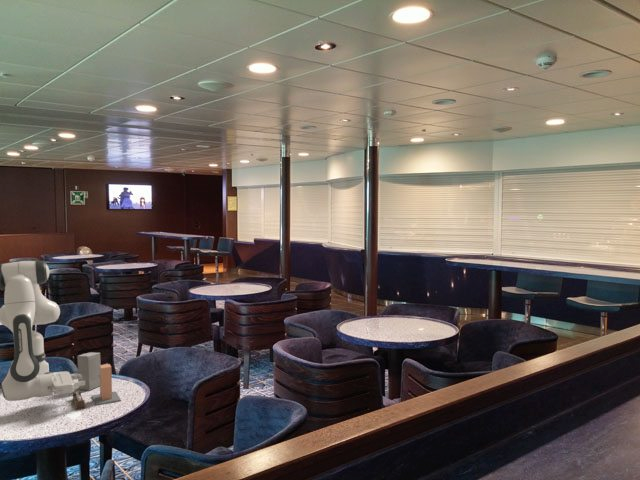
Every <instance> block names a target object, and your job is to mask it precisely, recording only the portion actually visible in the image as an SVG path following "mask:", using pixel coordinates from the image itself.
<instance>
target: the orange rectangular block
mask: <svg viewBox="0 0 640 480" xmlns="http://www.w3.org/2000/svg"><path fill="white" fill-rule="evenodd" d="M112 373H113V372H112V366H111V364H110V363H107V364H101V365H100V386H99V392H100V393H99V394H100V397H101V399H102V400H106V399H112V392H113V388H112V387H113V385H112V382H113V381H112V379H113V377H112Z"/></svg>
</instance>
